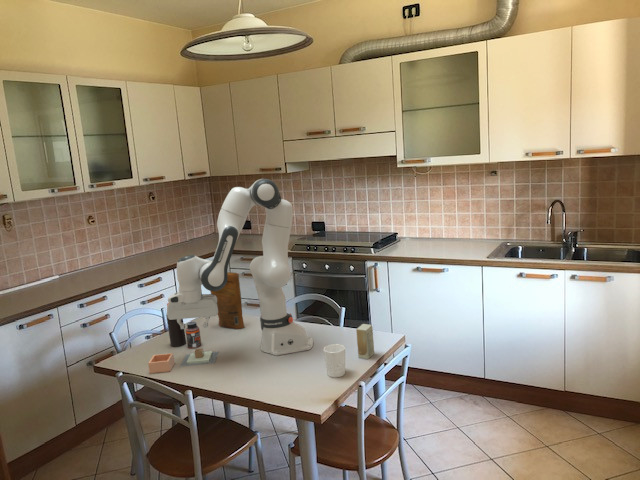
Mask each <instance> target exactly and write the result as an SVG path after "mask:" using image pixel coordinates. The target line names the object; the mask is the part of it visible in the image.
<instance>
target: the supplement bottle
mask: <svg viewBox="0 0 640 480" xmlns="http://www.w3.org/2000/svg"><path fill="white" fill-rule="evenodd" d="M186 323H187V325H186V326H187V327H185V328H186V329H185V338H186V345H187V348H188V349H199V348H200V347H202V340H201V339H202V337H201V330H200V327H199V326H198V325H197V322H196V321H189V322H186Z"/></svg>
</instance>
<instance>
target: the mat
mask: <svg viewBox="0 0 640 480" xmlns="http://www.w3.org/2000/svg"><path fill="white" fill-rule="evenodd" d="M219 353H220V352H219V350H218V351H212V356H211V358H210V361H209V362H206V363H196V364H187V360H188V358H189V356H190V354H191V353H187V354H185V356H184V358H183V360H182V362H181V363H180V365H179V367H180V368H181V367H189V366H199V365H201V366H202V365H212V364H215V363H216V361H217V358H218V356H219Z"/></svg>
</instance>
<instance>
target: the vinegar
mask: <svg viewBox="0 0 640 480" xmlns="http://www.w3.org/2000/svg"><path fill="white" fill-rule="evenodd" d="M168 304H169V302H167V303H166V306H168ZM165 316H166V321H167V323H166V324H167V328H168V336H169V344H170V347H171V348H181V347H184V346H185V345H187V337H186V330H185V329H181V327H180V325H179V324H178V322H177V319H174V320H169V319H168V317H167V314H166V315H165ZM181 322H182V323H183V324H184V319H181Z"/></svg>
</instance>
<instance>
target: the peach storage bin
mask: <svg viewBox="0 0 640 480" xmlns="http://www.w3.org/2000/svg"><path fill="white" fill-rule="evenodd" d="M175 364H176V362H175V355H174V353H173V352H172V353H171V352H170V353H160V354H153V355H152V357H151V358H150V360H149V361H148V364H147V365H148V370H149V371H148V372H149V375H151V374H160V373H171V372H172V369H173V368H174V365H175Z"/></svg>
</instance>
